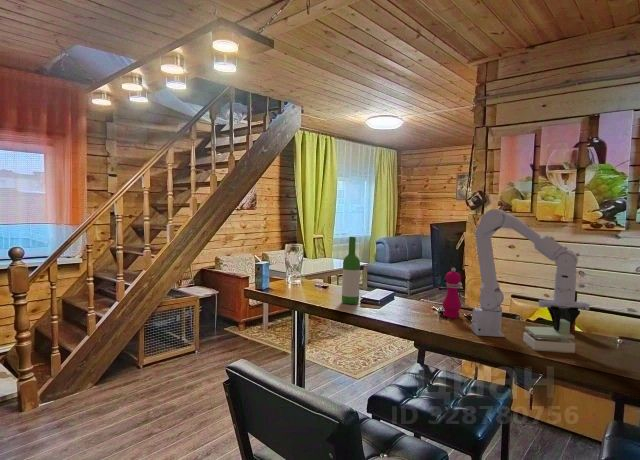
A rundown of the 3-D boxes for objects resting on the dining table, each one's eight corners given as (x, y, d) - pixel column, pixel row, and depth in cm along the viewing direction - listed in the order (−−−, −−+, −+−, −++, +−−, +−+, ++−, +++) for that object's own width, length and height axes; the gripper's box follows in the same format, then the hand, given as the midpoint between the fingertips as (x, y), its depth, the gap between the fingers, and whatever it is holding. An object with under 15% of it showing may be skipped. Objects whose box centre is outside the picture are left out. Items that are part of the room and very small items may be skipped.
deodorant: (566, 333, 146) (568, 292, 145) (552, 328, 152) (554, 289, 151) (578, 332, 148) (581, 292, 147) (564, 327, 153) (567, 288, 152)
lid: (535, 336, 127) (535, 323, 126) (524, 328, 135) (525, 315, 135) (574, 338, 125) (575, 324, 125) (561, 329, 134) (561, 317, 134)
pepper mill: (461, 319, 161) (464, 269, 159) (442, 317, 162) (445, 268, 161) (459, 314, 168) (461, 267, 167) (441, 313, 169) (443, 266, 168)
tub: (534, 350, 127) (534, 341, 126) (523, 341, 136) (523, 332, 135) (574, 353, 125) (575, 343, 125) (560, 343, 134) (561, 334, 134)
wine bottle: (338, 302, 183) (340, 236, 182) (350, 300, 188) (353, 236, 186) (349, 305, 177) (351, 237, 175) (362, 303, 182) (364, 237, 180)
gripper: (546, 289, 126) (543, 332, 127) (596, 292, 124) (592, 335, 125) (536, 285, 133) (534, 325, 134) (583, 287, 131) (580, 328, 132)
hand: (561, 330), depth 130 cm, fingers closed on lid, 3 cm apart
